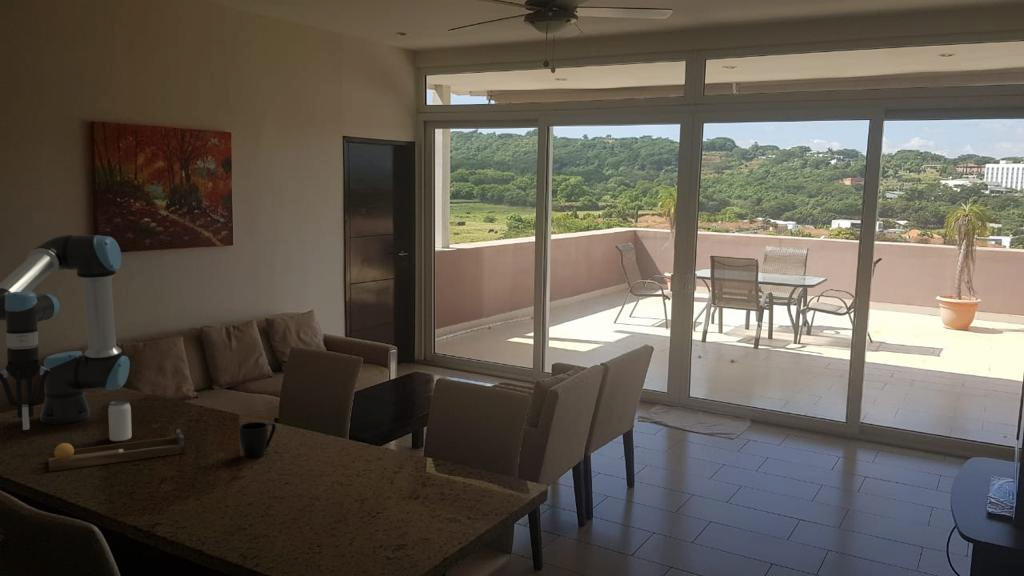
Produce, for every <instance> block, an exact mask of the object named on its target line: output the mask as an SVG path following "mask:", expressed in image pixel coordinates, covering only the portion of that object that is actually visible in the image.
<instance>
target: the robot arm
mask: <svg viewBox="0 0 1024 576" xmlns="http://www.w3.org/2000/svg"><path fill="white" fill-rule="evenodd" d="M121 265H122V252H121V248H120V246H119V243H118V242H117V240H116V239H114V238H113V237H112V236H108V235H107V236H106V235H99V234H98V235H97V234H93V235H90V234H89V235H87V234H85V235H80V234H79V235H78V234H75V235H72V234H65V235H59V236H56V237H52V238H50V239H47V240H46V241H44V242H42V243H40V244H39V245H37V246H36V247H34V248H33V249H32V250H31V251H30V252H29V253H28V255H27V259H26V260H25V261H24V262H22V263H21V264H20V265H19V266H18V267H17V268H16V269H14V270H13V272H11V273H10V274H9V275H8V276H7V277H6V278H5V279H3V280H2V281H1V282H0V321H5V326H6V329H5V331H6V333H5V335H6V346H7V347H8V348H7V349H6V355H7V364H6V365H5V368H4V369H3V370H2V371H0V381H1V384H2V387H3V389H4V392H5V394H6V395H5V396H6V398H7V401H8V404H9V405H10V406H11V407H12V406H13V407H16V410H17V418H18V419H22V430H23V431H26V430H30V418H32V417H33V416H34V405H36V404H40V402H41V399H42V396H43V392H44V394H45V395H44V396H45V399H44V401H43V405H42V407H41V408H42V409H41V412H40V414H39V418H40V422H41V423H42V424H46V425H64V424H71V423H77V422H82V421H84V420H85V421H86V420H87V419H89V418H90V417H91V410H90V407H89V405H88V403H87V401H86V400H87V399H86V396H85V395H84V390H101V391H102V390H103V391H104V390H106V391H109V390H119V389H121V388H123V386H124V385H125V383H126V382H127V380H128V377H129V373H130V365H131V363H130V359H129V357H128V356H126V355H123V352H122V351H123V350H122V349H121V348H120V347H119V346H117V338H116V337H117V336H116V326H115V324H116V323H115V313H114V311H115V309H114V299H113V287H112V286H113V285H112V279H113V278H114V277H115V276H116V273H117V272H116V271H118V270H119V269H120V268H121ZM64 270H70V271H71V270H72V271H76V276H77V278H78V279H80V280H81V281H82V288H83V298H84V300H83V301H84V309H85V319H86V320H85V321H86V332H87V343H88V347H87V350H85V351H84V353H83V352H82V351H81V350H73V351H72V350H71V351H65V352H60V353H55V354H51V355H48V356H46V357H45V358H44V361H43V366H42V364H41V363H40V356H39V355H40V354H39V353H40V352H39V347H38V346H37V345H39V335H38V334H39V333H38V323H39V322H42V321H48V320H50V319H52V318H54V317H55V316H57V314H58V313H59V311H60V308H61V307H60V302H59V300H58V298H57V297H55V296H54V295H52V294H51V293H39V294H36V293H35V292H34V291H33V290H34V289H35V287H37V286H38V285H39V284H40V283H41V282H42V281H43V280H44V279H46V277H47V276H51V275H54V274H55V273H56V272H57V271H64ZM38 372H39V375H40V380H39V383H38V387H37V391H36V395H35V398H34V396H33V378H34V377H35V376H36V375H37V374H38ZM8 375H10V376H11V377H12V378H13V379H15V389H16V400H15V397H14V394H13V392H12V389H11V386H10V383H9V380H8ZM22 380H26V391H27V392H26V394H27V404H23V387H22V386H23V385H22V384H23V383H22ZM43 390H44V391H43Z"/></svg>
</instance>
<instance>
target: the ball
mask: <svg viewBox="0 0 1024 576" xmlns="http://www.w3.org/2000/svg"><path fill="white" fill-rule="evenodd" d="M53 452H54V454H55V457H56V458H57V459H59V460H66V459H70V458H71V457H72V456H73V454H74V446H72V444H70V443H67V442H62V443H59V444H58V445H57V446H56V447H55V449H54V451H53Z"/></svg>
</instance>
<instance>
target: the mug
mask: <svg viewBox="0 0 1024 576" xmlns="http://www.w3.org/2000/svg"><path fill="white" fill-rule="evenodd" d="M269 426H271V429H270V433H269ZM276 429H277V427H276V423H275V422H268V423H265V422H263V421H262V422H261V421H253V422H246V423H243V424H241V425H240V426H239V440H240V441H239V442H240V445H241V446H240V447H241V450H242V452H243V457H244V458H245V459H250V460H254V459H256V460H257V459H260V458H262V457H264V455H265V452H266V450H267V449H268V448H269V445H270V443H271V441H272V439H273V436H274V435H275V432H276Z"/></svg>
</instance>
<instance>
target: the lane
mask: <svg viewBox="0 0 1024 576" xmlns="http://www.w3.org/2000/svg"><path fill="white" fill-rule="evenodd" d="M175 435H176V436H171V437H163V438H155V439H154V438H153V439H146V440H138V441H131V442H123V443H122V442H121V443H115V444H104V445H97V446H91V447H90V446H89V447H83V448H82V447H81V448H75V449H74V454H73V456H72V457H71V458H70V459H66V460H59V459H57V458H56V457H55V454H54V452H55V451H50V452H48V472H53V471H54V472H55V471H62V470H69V469H77V468H84V467H85V468H87V467H93V466H98V465H99V466H100V465H107V464H115V463H122V462H130V461H137V460H144V459H151V458H152V457H153V458H159V457H158V456H160V457H166V455H168V456H174V455H173V454H175V455H180V454H179V453H183V454H185V436H184V434H183V433H182V431H181V429H180V428H176V429H175ZM164 455H165V456H164Z"/></svg>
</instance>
